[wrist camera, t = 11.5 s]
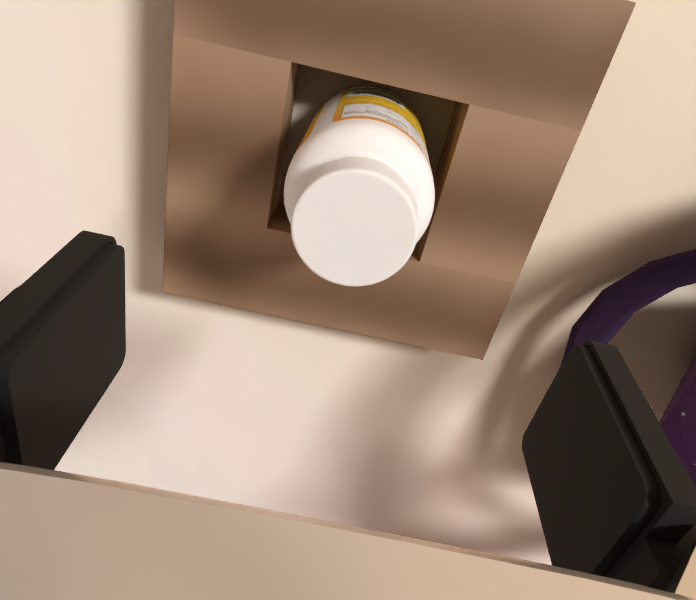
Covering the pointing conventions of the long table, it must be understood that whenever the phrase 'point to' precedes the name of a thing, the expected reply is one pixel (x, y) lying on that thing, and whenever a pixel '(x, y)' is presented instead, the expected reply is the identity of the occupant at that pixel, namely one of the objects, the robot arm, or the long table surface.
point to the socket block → (453, 168)
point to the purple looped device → (612, 313)
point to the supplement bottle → (359, 187)
